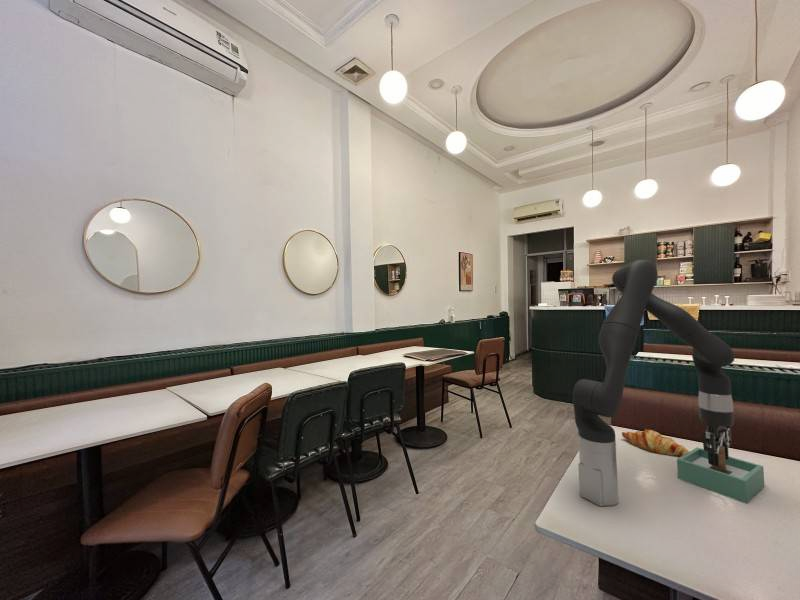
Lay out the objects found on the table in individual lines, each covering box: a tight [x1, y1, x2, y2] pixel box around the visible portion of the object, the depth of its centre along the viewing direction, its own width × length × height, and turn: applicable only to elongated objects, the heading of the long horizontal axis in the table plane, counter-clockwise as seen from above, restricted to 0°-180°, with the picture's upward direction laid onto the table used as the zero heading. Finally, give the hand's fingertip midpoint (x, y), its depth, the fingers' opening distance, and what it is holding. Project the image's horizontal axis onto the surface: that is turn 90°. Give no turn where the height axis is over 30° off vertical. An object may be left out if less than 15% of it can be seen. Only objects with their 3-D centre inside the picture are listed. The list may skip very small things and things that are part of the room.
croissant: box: [621, 428, 690, 457], centre depth 120 cm, size 21×10×8 cm, turn 36°
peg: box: [710, 445, 726, 473], centre depth 97 cm, size 3×3×10 cm
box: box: [676, 447, 766, 504], centre depth 97 cm, size 15×15×6 cm
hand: (718, 461), depth 97 cm, fingers open, 7 cm apart
